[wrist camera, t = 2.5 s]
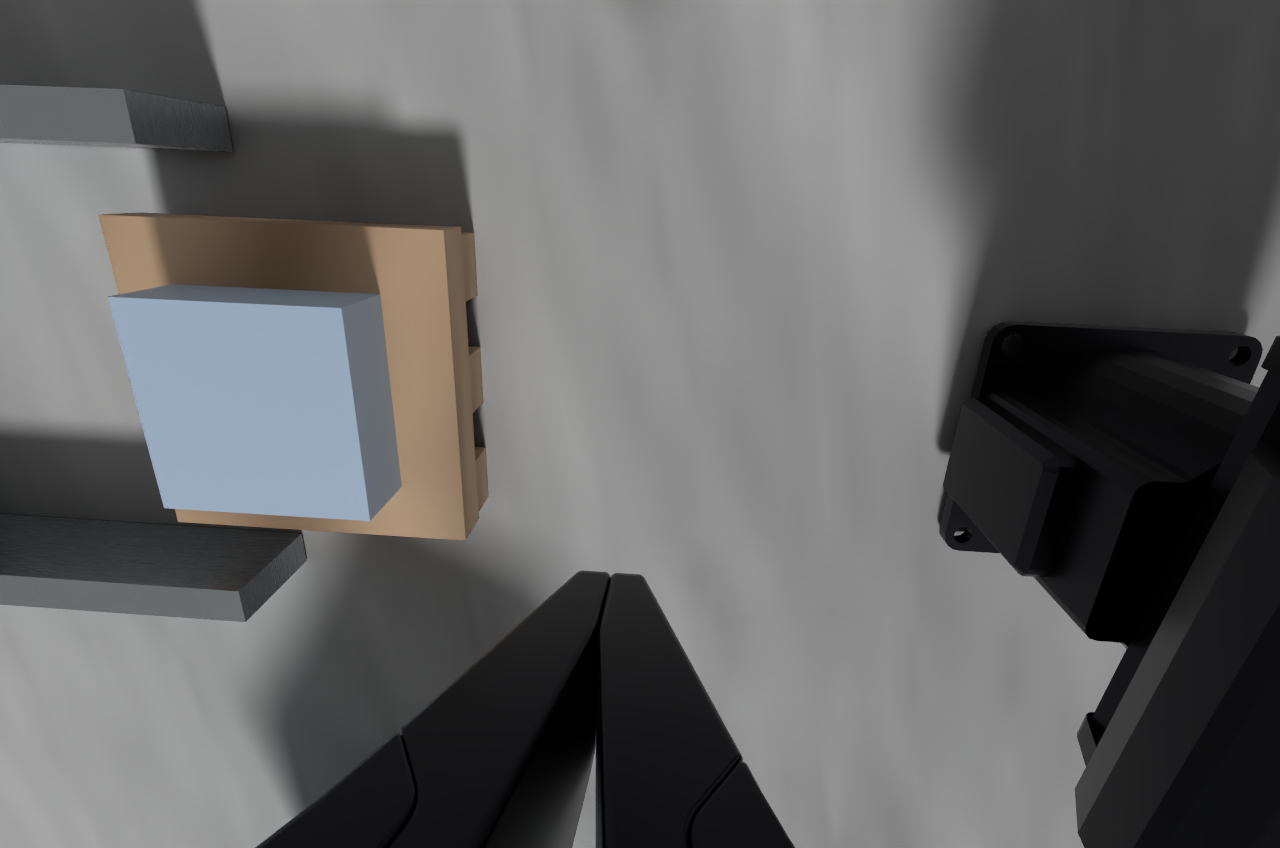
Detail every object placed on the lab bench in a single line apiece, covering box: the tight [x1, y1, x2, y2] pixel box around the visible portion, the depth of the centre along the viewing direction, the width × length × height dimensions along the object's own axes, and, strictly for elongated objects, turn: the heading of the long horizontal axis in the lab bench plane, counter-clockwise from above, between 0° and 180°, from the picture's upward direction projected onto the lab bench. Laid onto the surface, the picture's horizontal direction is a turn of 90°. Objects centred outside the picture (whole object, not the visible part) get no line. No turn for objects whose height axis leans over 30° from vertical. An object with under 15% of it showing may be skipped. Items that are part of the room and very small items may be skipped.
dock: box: [0, 85, 306, 622], centre depth 16 cm, size 12×13×3 cm
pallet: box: [99, 213, 488, 540], centre depth 17 cm, size 8×8×2 cm
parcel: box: [108, 284, 402, 521], centre depth 15 cm, size 5×5×2 cm
